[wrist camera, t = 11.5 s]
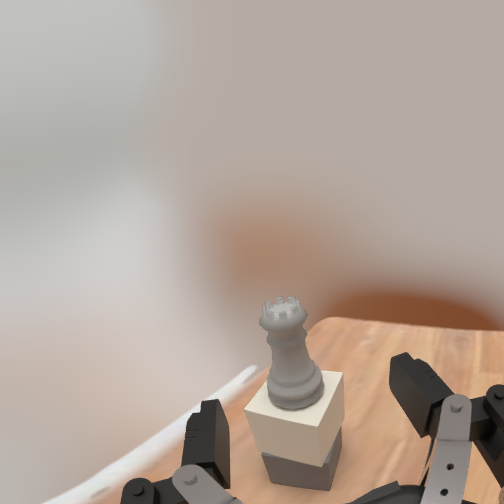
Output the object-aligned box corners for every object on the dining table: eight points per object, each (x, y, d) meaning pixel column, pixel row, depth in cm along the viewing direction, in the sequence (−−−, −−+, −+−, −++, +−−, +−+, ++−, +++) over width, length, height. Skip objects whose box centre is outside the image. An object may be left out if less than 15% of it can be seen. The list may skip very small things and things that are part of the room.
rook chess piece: (325, 371, 23) (315, 286, 21) (324, 410, 19) (314, 319, 17) (272, 375, 24) (254, 293, 22) (264, 413, 20) (240, 325, 18)
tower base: (289, 442, 29) (282, 409, 27) (341, 446, 26) (341, 413, 25) (271, 483, 24) (261, 454, 22) (329, 490, 21) (328, 463, 20)
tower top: (287, 407, 27) (278, 364, 26) (344, 417, 24) (343, 372, 23) (258, 450, 23) (244, 409, 21) (321, 467, 19) (317, 426, 18)
